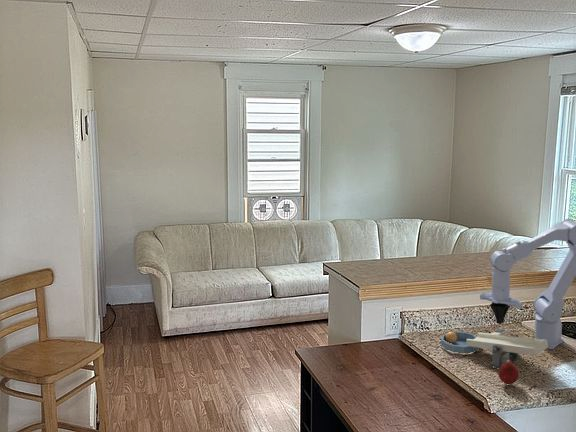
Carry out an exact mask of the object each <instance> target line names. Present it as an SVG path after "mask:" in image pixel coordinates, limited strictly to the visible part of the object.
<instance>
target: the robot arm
mask: <svg viewBox="0 0 576 432" xmlns="http://www.w3.org/2000/svg"><path fill="white" fill-rule="evenodd" d="M555 241H560V242H561V241H562V242H566V244H567V246H568V248H569V251H568V252H567V254H566V256H565V258H564V259H563V261H562V263H561V265H560V267H559V268H558V270H557V272H556V274H555V275H554V278H553V279H552V281H551V283H550V285H549V287H548V288H547V289H546V290H544V291H541V293H540V295H539V296H537V298H535V299H534V301H533V302H532V307H533V310H534V311H535V316H534V317H535V318H534V319H535V322H534V338H533V339H539V340H543V339H545V340H547V343H548V348H547V349H548V350H553V349H555V348H556V347H558V346H559V345H560V344H562V343H563V342H564V341H565V340H564V338H562V334H563V333H562V331H563V330H562V329H563V327H562V326H563V324H562V323H563V322H562V320H561V317H562V315H563V313H562V312H563V309H564V306H565V305H564V297H565V296H566V293H567V292H568V290H569V288H570V286H571V284H572V283H573V281H574V279H575V277H576V221H575V220H573V219H572V218H566V219H563V220H561V221H560V222H556V223H555V224H554V225H553V226H551V227H550V228H548V229H546V230H544V231H543V232H542V233H540V234H537V235H536V236H535V237H532V238H530V239H529V240H523V239H521V240H518V239H517V240H516V241H515V242H514V244H511V245H509V246H508V247H503V248H502V250H496V251H494V252H492V254H491V255H490V258H489V262H490V263H491V264H492V267H491V268H492V270H491V293H487V292H481V293H480V294H479V300H485V301H489V302H491V303H490V304H489V305H490V308H491V310H492V311H493V314H494V317H495V321H496V323H497V325H498V324H499V325H502V324H503V323H504V322H505V318H506V315H507V313H508V311H509V309H510V307H514V308H516V309H517V310H520V309H521V308H523V302H522V301H519V300H517V299H515V298H512V297H510V296H511V295H510V289H511V288H510V285H511V283H510V281H511V273H510V272H511V269H512V268H513V265H514V264H516V263H518V262H520V261H522V260H524V259H526V258H528V257H530V256H532V253H533V252H534V251H535V250H536V249H538V248H541V247H543V246H545V245H547V244H550V243H552V242H555Z"/></svg>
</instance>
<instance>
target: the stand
mask: <svg viewBox="0 0 576 432" xmlns="http://www.w3.org/2000/svg"><path fill="white" fill-rule="evenodd" d="M509 336H514V337H520V336H519V335H518V334H510V335H509ZM491 351H492V361H491V363H489V367H490V366H494V367H496V368H500V367H501V365H503V364H505V363H506V362H507V360H510V361H511V363H512V364H513V363H515V362H517V360H519V359H520V358H521V356H522V354H519V353H513V352H506V353H505V354H503V355H502V352H503V351H502V347H499V346H496V345H494V346H493V349H491Z"/></svg>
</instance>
